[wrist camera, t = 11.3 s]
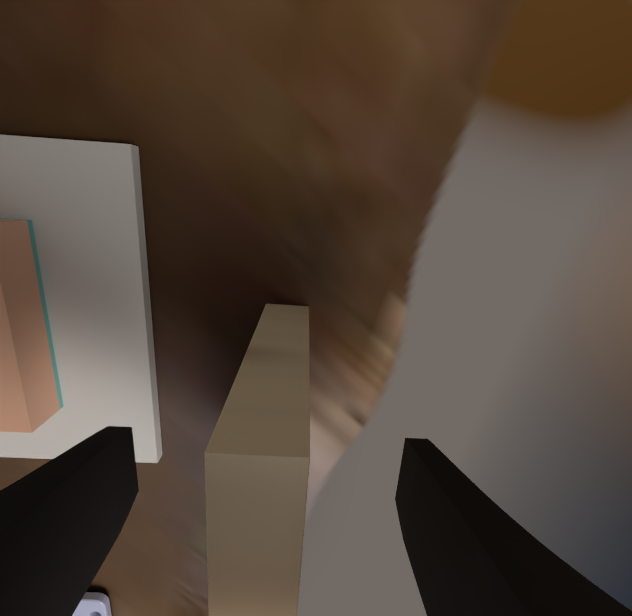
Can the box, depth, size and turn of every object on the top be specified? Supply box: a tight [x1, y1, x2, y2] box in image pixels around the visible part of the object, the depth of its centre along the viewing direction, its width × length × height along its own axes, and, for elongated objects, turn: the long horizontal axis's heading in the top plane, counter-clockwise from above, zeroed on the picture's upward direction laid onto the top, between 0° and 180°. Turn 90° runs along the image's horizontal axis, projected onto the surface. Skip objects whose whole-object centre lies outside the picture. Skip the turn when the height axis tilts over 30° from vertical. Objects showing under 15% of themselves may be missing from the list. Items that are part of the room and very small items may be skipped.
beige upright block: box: [205, 304, 310, 616], centre depth 10 cm, size 6×2×8 cm, turn 176°
